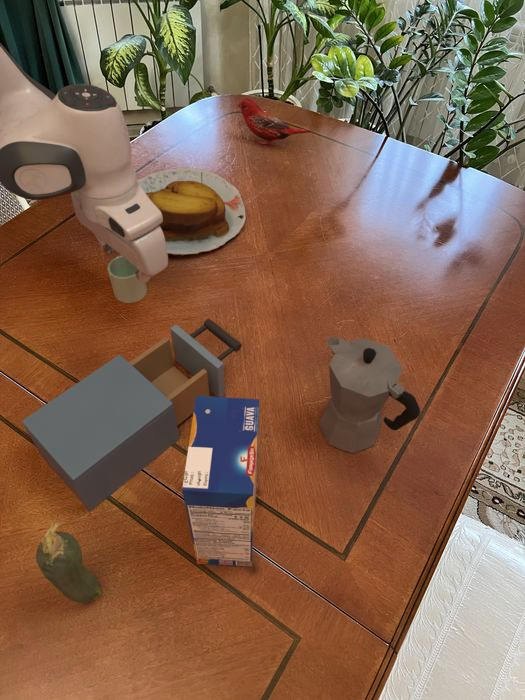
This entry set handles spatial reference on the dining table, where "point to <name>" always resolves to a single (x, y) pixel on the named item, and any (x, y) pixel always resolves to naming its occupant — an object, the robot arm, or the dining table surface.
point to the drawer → (186, 367)
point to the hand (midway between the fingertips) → (126, 265)
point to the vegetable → (66, 566)
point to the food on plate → (194, 208)
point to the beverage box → (222, 479)
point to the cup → (125, 281)
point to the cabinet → (103, 430)
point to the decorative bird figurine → (265, 123)
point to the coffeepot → (362, 394)
